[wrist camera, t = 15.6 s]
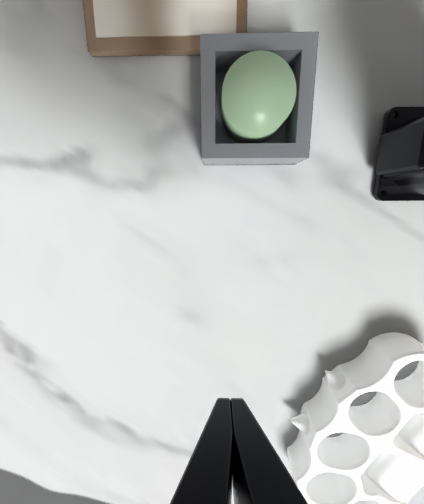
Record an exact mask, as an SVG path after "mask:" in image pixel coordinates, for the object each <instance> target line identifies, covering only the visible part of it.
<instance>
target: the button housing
mask: <svg viewBox="0 0 424 504" xmlns="http://www.w3.org/2000/svg"><path fill="white" fill-rule="evenodd" d="M318 34H319V32H277V33H224V34H200V66H201V152H202V161H203V164H204V165H294V164H297V163H299V162H301V161H303V160H305V159H307V158H309V149H310V137H311V124H312V111H313V98H314V85H315V73H316V60H317V47H318ZM259 50H263V51H270V52H273V53H275V54H277V55H279V56H280V57H281V58H283V59H284V60H285V61H286V62H287V63H288V65H289V66H290V68H291V70H292V71H293V74H294V77H295V81H296V99H295V103H294V106H293V109H292V111H291V113H290V114H289V116H288V117H287V119H286V120H285V121H284V122H283V123H282V124H281V126H280V127H279V128H278V129H277V130H276V132H275V133H274V134H273V135H272V136H271V137H270V138H269V139H267V140H266V141H264V142H262V143H240V142H238V141H236V140H235V139H233V138H232V137H231V136H230V135H229V134H228V133H227V131H226V129H225V127H224V125H223V122H222V117H221V102H222V87H223V82H224V79H225V76H226V74H227V72H228V70H229V68H230V67H231V66H232V64H233V63H234V62H235V61H236V60H237V59H239V58H240V57H241V56H243V55H245V54H247V53H249V52H253V51H259Z"/></svg>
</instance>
